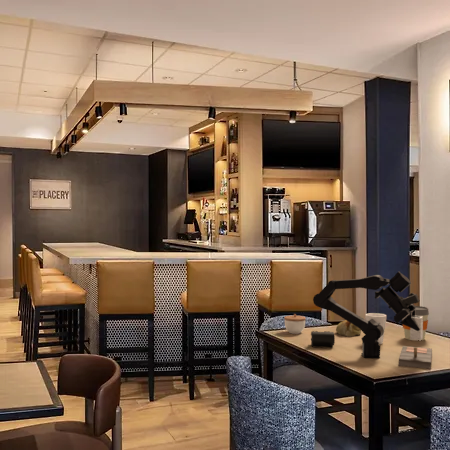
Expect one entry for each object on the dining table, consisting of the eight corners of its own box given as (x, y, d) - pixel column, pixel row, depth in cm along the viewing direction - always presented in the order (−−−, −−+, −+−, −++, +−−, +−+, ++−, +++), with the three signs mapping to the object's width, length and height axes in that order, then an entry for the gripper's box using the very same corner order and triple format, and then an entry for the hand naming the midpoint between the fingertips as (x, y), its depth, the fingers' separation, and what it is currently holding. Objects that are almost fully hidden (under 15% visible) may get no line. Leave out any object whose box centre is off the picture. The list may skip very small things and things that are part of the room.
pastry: (356, 338, 268) (356, 321, 268) (332, 335, 274) (332, 319, 274) (365, 332, 280) (365, 317, 280) (341, 330, 286) (341, 314, 286)
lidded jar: (288, 329, 286) (288, 311, 286) (308, 331, 282) (308, 313, 281) (281, 333, 276) (281, 314, 276) (301, 335, 272) (302, 316, 272)
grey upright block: (410, 339, 222) (410, 317, 222) (412, 337, 226) (412, 315, 226) (420, 340, 220) (420, 318, 220) (422, 338, 224) (423, 316, 224)
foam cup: (361, 341, 260) (361, 313, 260) (377, 339, 264) (377, 312, 263) (374, 345, 251) (374, 317, 251) (390, 343, 255) (390, 315, 255)
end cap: (312, 348, 246) (312, 333, 246) (310, 344, 253) (310, 329, 253) (334, 348, 246) (334, 333, 246) (331, 344, 253) (331, 330, 253)
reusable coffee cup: (414, 342, 258) (414, 310, 258) (395, 337, 270) (395, 306, 269) (434, 340, 263) (434, 308, 263) (415, 334, 275) (415, 305, 274)
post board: (430, 368, 213) (431, 353, 213) (398, 365, 218) (398, 350, 218) (432, 354, 236) (432, 340, 236) (402, 351, 240) (402, 338, 240)
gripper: (402, 289, 216) (431, 320, 211) (411, 284, 233) (438, 313, 227) (382, 307, 220) (410, 338, 215) (392, 301, 237) (418, 329, 231)
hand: (420, 329), depth 222 cm, fingers closed on grey upright block, 5 cm apart
